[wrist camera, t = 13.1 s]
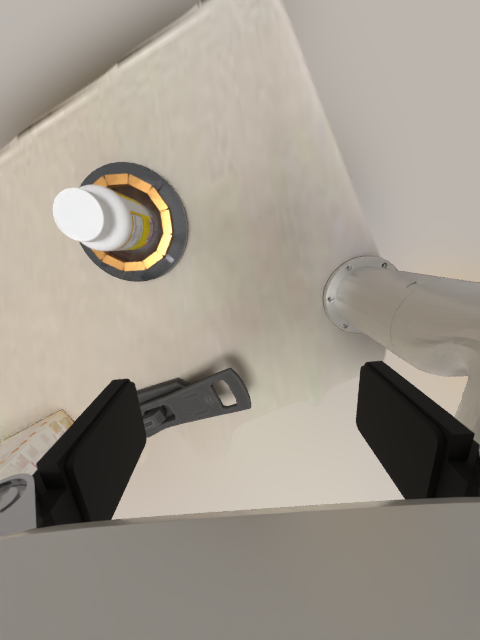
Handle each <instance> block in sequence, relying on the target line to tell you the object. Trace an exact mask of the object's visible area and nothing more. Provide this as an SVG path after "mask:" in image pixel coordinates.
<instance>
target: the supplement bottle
mask: <svg viewBox="0 0 480 640" xmlns="http://www.w3.org/2000/svg"><path fill="white" fill-rule="evenodd" d="M53 216H54V219H55V222H56V224H57V226H58V227H59V229H60V230H61V231H62V232H63V233H64V234H65V235H66V236H68V237H69V238H71V239H73V240H76V241H80V242H81V243H82V244H84V245H85V246H87V247H89V248H91V249H94V250H98V251H119V250H135V249H141V248H143V247H145V246H147V245H148V244H149V243H150V242H151V240H152V239H153V236H154V233H155V223H154V219H153V216H152V214H151V213H150V211H149V210H148V209H147V208H146V207H145V206H144V205H143V204H141V203H140V202H138V201H136V200H133V199H131V198H129V197H126V196H124V195H122V194H120V193H118V192H115V191H113V190H111V189H109V188H106V187H104V186H100V185H92V184H91V185H84V186H81V187H79V188H67V189H65V190H63V191H61V192H60V193H59V194H58V195H57V197H56V198H55V200H54V203H53Z"/></svg>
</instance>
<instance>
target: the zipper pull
mask: <svg viewBox="0 0 480 640" xmlns="http://www.w3.org/2000/svg"><path fill="white" fill-rule="evenodd" d="M220 380H224V381H225V382H226V383H227V384H228V385H229V387H230V389H231V391H232V393H233V395H234V396H235V398H236V402H237V404H233V405H230V406H225V405H223V404H222V402H221V400H220V398H219V397H218V395H217V393H216V391H215V390H214V388H213V386H212V383H214V382H217V381H220ZM137 396H138V400H139V405H140V409H141V413H142V418H143V422H144V427H145V431H146V437H150V436H152V435H154V434H156V433H158V432H159V431H161V430H163V429H165V428H168V427H172V426H175V425H179V424H183V423H187V422H192V421H196V420H201V419H205V418H210V417H214V416H219V415H223V414H228V413H233V412H237V411H242V410H246V409H250V408H251V400H250V396H249V393H248V390H247V388H246V386H245V384H244V382H243V381H242V379H241V378H240V376H239V375H238V374H237V373H236V372H235V371H234V370H233V369H232V368H227V369H225V370H223V371H221V372H218V373H216V374H214V375H211V376H209V377H207V378H205V379H203V380H201V381H198V382H196V383H194V384H191V385H190V384H189V383H187V382H185V381H184V380H182V379H180V378H176V379H173V380H170V381H166V382H163V383H160V384H157V385H154V386H151V387H147V388H144V389H141V390H137Z"/></svg>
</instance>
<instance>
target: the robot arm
mask: <svg viewBox="0 0 480 640" xmlns="http://www.w3.org/2000/svg"><path fill="white" fill-rule="evenodd" d="M347 266H348V268H347V269H346V267H347ZM328 297H329V299H328ZM323 303H324V309H325V312H326V314H327V316H328V318H329V319H330V320H331V321H332V322H333V324H335V325H336V326H337V327H338V328H340V329H342V330H344V331H347V332H350V333H364V334H366V335H367V336H369V337H370V338H372V339H373V340H375V341H376V342H378V343H379V344H381V345H382V346H384V347H385V348H387V349H388V350H390V351H391V352H393V353H394V354H396V355H397V356H398V357H400V358H402V359H403V360H405V361H406V362H408V363H409V364H411V365H412V366H414V367H416V368H418V369H419V370H422V371H424V372H427V373H430V374H435V375H440V376H469V378H468V382H467V384H466V387H465V390H464V392H463V396H462V400H461V403H460V405H459V407H458V410H457V412H456V415H455V417H453V416H452V415H451V414H449V413H448V412H447V411H445V410H444V409H443V408H442V407H440V406H439V405H438V404H436V403H435V402H434V401H433V400H431V399H430V398H429V397H427V396H426V395H425V394H424V393H422V392H421V391H420V390H419V389H417V388H416V387H415V386H414V385H412V384H411V383H410V382H408V381H407V380H406V379H404V378H403V377H402V376H401V375H399V374H398V373H397V372H396V371H394V370H393V369H391V368H390V367H389V366H388V365H387V364H385V363H384V362H382V361H374V362H366V363H365V365H364V366H362V367H361V370H360V381H359V392H358V404H357V415H356V424H357V427H358V430H359V431H360V433H361V434H362V436H363V437H364V439H365V440H366V442H367V443H368V445H369V446H370V448H371V449H372V450H373V452H374V454H375V455H376V457H377V458H378V459H379V461H380V463H381V464H382V466H383V467H384V468H385V470H386V472H387V473H388V474H389V476H390V477H391V479H392V480H393V482H394V483H395V485H396V486H397V488H398V489H399V491H400V492H401V494H402V495H403V497H404V498H405V500H389V501H374V502H357V503H341V504H326V505H310V506H295V507H280V508H266V509H252V510H237V511H223V512H208V513H195V514H182V515H169V516H156V517H142V518H129V519H116V520H111V519H112V517H113V515H114V512H115V510H116V508H117V506H118V504H119V501H120V499H121V497H122V495H123V493H124V490H125V488H126V486H127V484H128V482H129V479H130V477H131V475H132V473H133V471H134V468H135V466H136V464H137V462H138V460H139V457H140V455H141V453H142V451H143V449H144V446H145V444H146V431H145V427H144V422H143V418H142V413H141V409H140V405H139V400H138V396H137V391H136V387H135V384H134V382H131V381H130V380H129V379H118V380H113V381H111V383H110V384H109V385H108V386H107V387H106V388H105V389H104V390H103V391H102V392H101V393H100V395H99V396H98V397H97V398H96V399H95V400H94V401H93V402H92V403H91V404H90V405H89V407H88V408H87V409H86V410H85V411H84V412H83V413H82V414H81V415H80V416H79V417H78V418H77V420H76V421H75V422H74V423H73V424H72V425H71V426H70V427H69V428H68V429H67V430H66V432H65V433H64V434H63V435H62V436H61V437H60V438H59V439H58V440H57V441H56V442H55V444H54V445H53V446H52V447H51V448H50V449H49V450H48V451H47V452H46V453H45V454H44V456H43V457H42V458H41V459H40V460H39V461H38V462H37V463H36V466H37V468H38V469H37V470H36V471H35V472H34V474H33V475H29V474H16V475H12V476H9V477H7V478H4V479H2V480H0V640H480V283H479V282H471V281H464V280H458V279H450V278H444V277H437V276H431V275H423V274H417V273H410V272H404V271H398V270H397V269H396V268H395V266H394V265H392V264H391V263H390V262H389V261H386V260H384V259H383V258H379V257H374V256H363V257H358V258H354V259H351V260H349V261H347V262H345V263H344V264H343V265H341V266H340V267H339V268H338V269H337V270H336V271H335V272H334V273H333V274H332V275H331V277H330V278H329V280H328V282H327V284H326V287H325V290H324V296H323ZM343 324H344V325H343Z"/></svg>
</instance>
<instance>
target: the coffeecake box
mask: <svg viewBox="0 0 480 640" xmlns="http://www.w3.org/2000/svg"><path fill="white" fill-rule="evenodd" d="M73 423H74V422H73V421H72V420H71V418H70V417H69V416H68V415H67V414H66V413H65V412H64V411H63V410H61V411H59V412H57V413H55V414H53V415H51V416H49V417H47V418H45V419H43V420H41V421H40V422H38V423H36V424H34V425H32V426H30V427H28V428H26V429H24V430H23V431H21V432H19V433H17V434H15V435H13V436H11V437H10V438H8V439H6V440H4V441H3V442H2V443H1V444H0V480H2V479H4V478H7V477H9V476H12V475H16V474H29V475H33V474H34V472H35V471H36V470H37V469H38V468H37V466H36V463H37V462H38V461H39V460H40V459H41V458H42V457H43V456H44V454H45V453H46V452H47V451H48V450H49V449H50V448H51V447H52V446H53V445H54V444H55V442H56V441H57V440H58V439H59V438H60V437H61V436H62V435H63V434H64V433H65V432H66V430H67V429H68V428H69V427H70V426H71V425H72V424H73Z"/></svg>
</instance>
